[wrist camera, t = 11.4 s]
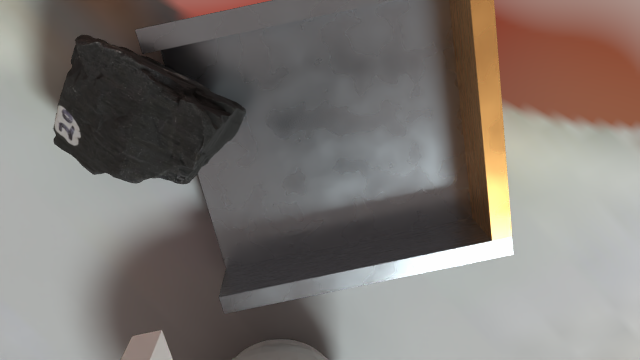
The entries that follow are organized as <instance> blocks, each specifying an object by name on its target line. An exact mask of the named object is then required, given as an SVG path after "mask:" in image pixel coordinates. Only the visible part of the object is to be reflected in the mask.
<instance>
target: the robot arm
mask: <svg viewBox="0 0 640 360" xmlns="http://www.w3.org/2000/svg"><path fill="white" fill-rule="evenodd" d="M121 360H173V359H172V356H171V353H170V350H169V348H168V345H167V342H166V340H165V337H164V334H163V332H162V330H159V331H154V332H149V333H145V334H140V335H135V336H132V338H131V340H130V342H129V344H128V346H127V348H126V350H125V352H124V354H123V356H122V358H121Z"/></svg>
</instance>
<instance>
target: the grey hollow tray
mask: <svg viewBox="0 0 640 360" xmlns="http://www.w3.org/2000/svg"><path fill="white" fill-rule="evenodd" d="M135 31H136V34H137V38H138V41H139V44H140V47H141V50H142V54H145V53H150V52H154V51H159V50H160V51H161V54H162V57H163V61H164V64H165V66H166V67H168V68H170V69H172V70H174V71H176V72H177V73H179V74H181V75H184V76H186V77H188V78H190V79H192V80H194V81H196V82H198V83H200V84H202V85H203V86H205V87H207V88H209V90H210V91H211V92H213V93H215V94H217V95H220V96H223V97H225V98H228V99H230V100H232V101H235V102H237V103H238V104H240V105H241V106H242V107H244V108H245V109H246V114H245V116H244V118H243V121H242V123H241V126H240V128H239V130H238V132H237V133H236V135H235V136H234V138H233V139H232V140H230V141H228V142H227V143H226V144H225V145H224V146H223V147H222V148H221V149H220V150H219V151H218V152H217V153H216V154H215V155H214V156H213V157H212V158H211V159H210V160H209V162H208V163H207V164H206V165H205V166H203V167H201V169H200V170H199V172H198V177H199V180H200V183H201V187H202V190H203V193H204V197H205V200H206V203H207V207H208V210H209V213H210V217H211V220H212V223H213V227H214V230H215V233H216V236H217V240H218V243H219V246H220V250H221V253H222V256H223V260H224V263H225V266H226V271H225V275H224V279H223V283H222V287H221V291H220V295H219V299H220V302H221V305H222V308H223V312H224V314H226V313H231V312H236V311H241V310H246V309H250V308H255V307H260V306H265V305H270V304H275V303H280V302H284V301H289V300H294V299H299V298H304V297H309V296H314V295H318V294H323V293H328V292H333V291H338V290H343V289H348V288H352V287H357V286H362V285H367V284H372V283H377V282H382V281H386V280H391V279H396V278H401V277H406V276H411V275H416V274H420V273H425V272H430V271H435V270H440V269H445V268H450V267H454V266H459V265H464V264H469V263H474V262H479V261H484V260H488V259H493V258H498V257H503V256H508V255H513V244H512V231H511V218H510V204H509V191H508V178H507V165H506V152H505V139H504V126H503V113H502V100H501V87H500V73H499V60H498V47H497V35H496V22H495V8H494V0H272V1H267V2H262V3H258V4H253V5H248V6H244V7H239V8H234V9H230V10H225V11H220V12H216V13H211V14H206V15H202V16H197V17H192V18H187V19H183V20H178V21H173V22H169V23H164V24H159V25H155V26H150V27H145V28H141V29H136V30H135Z"/></svg>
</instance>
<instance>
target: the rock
mask: <svg viewBox="0 0 640 360" xmlns="http://www.w3.org/2000/svg"><path fill="white" fill-rule="evenodd" d="M75 41H76V46H75V48H74V52H73V55H72V59H71V64H72V69H70V71H69V72H68V74H67V77H66V80H65V83H64V87H63V90H62V93H61V97H60V101H59V103H58V109H57V113H56V118H55V124H54V131H55V133H56V136H55V138H54V144H55V145H57V146H58V147H59V148H61V149H62V150H64V151H66V152H67V153H69V154H71V155H72V156H73V157H75V158H76V159H77V160H78V161H79V163H80V164H81V165H82V166H84V167H85V168H86V169H87V170H88V171H89V172H91V173H92V174H94V175H96V174H102V173H108V174H110V175H111V176H113V177H115V178H118V179H121V180H124V181H127V182H130V183H139V182H142V181H143V180H146V179H149V178H162V179H166V180H170V181H173V182H175V183H178V184H187V183H189V182H190V181H191V180H192V179H193V178H194V177H195V176H196V175H198V172H199V170H200V169H201V167H203V166H205V165H206V164H207V163H208V162H209V160H210V159H211V158H212V157H213V156H214V155H215V154H216V153H217V152H218V151H219V150H220V149H221V148H222V147H223V146H224V145H225V144H226V143H227V142H228V141H230V140H232V139H233V138H234V136H235V135H236V133H237V132H238V130H239V128H240V126H241V123H242V121H243V118H244V116H245V114H246V109H245V108H244V107H242V106H241V105H240V104H238V103H237V102H235V101H232V100H230V99H228V98H225V97H223V96H220V95H217V94H215V93H213V92H211V91H210V90H209V88H207V87H205V86H203V85H202V84H200V83H198V82H196V81H194V80H192V79H190V78H188V77H186V76H184V75H181V74H179V73H177V72H176V71H174V70H172V69H170V68H168V67H166V66H164V65H162V64H160V63H158V62H156V61H154V60H152V59H150V58H148V57H144V56H140V55H138V54H136V53H134V52H133V51H131V50H129V49H127V48H123V47H117V46H115V45H111V44H109V43H107V42H106V41H104V40H101V39H95V38H93V37H91V36H88V35H81V36H79V37H77V38H76V40H75Z"/></svg>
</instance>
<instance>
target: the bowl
mask: <svg viewBox="0 0 640 360" xmlns="http://www.w3.org/2000/svg"><path fill="white" fill-rule="evenodd" d="M231 360H329V359H327V358H326V357H324V356H323V355H322V354H321V353H320V352H319V351H318V350H316V349H315V348H313V347H312V346H309V345H307V344H305V343H302V342H299V341H294V340H288V339H274V340H267V341H263V342H259V343H256V344H254V345H252V346H250V347H248V348H246V349H245V350H244V351H242V352H241V353H239V354H238V355H237V356H236V357H235V358H233V359H231Z"/></svg>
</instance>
